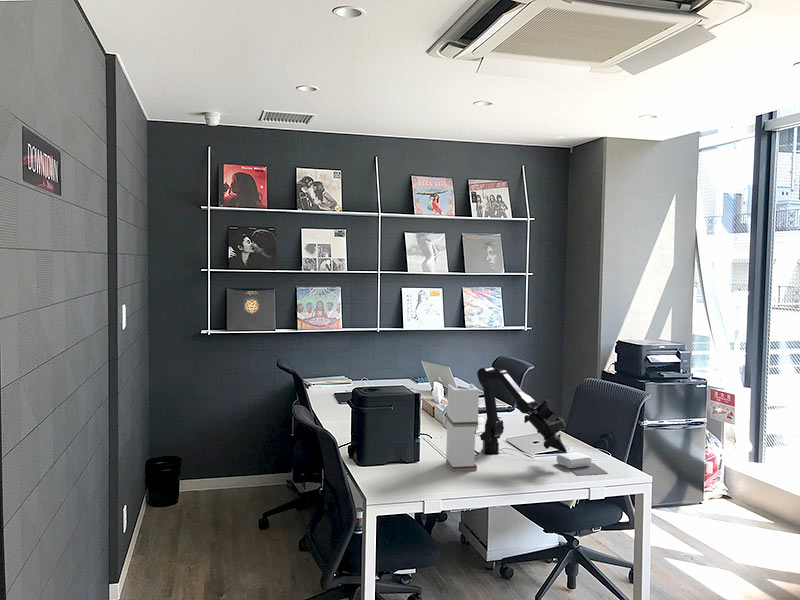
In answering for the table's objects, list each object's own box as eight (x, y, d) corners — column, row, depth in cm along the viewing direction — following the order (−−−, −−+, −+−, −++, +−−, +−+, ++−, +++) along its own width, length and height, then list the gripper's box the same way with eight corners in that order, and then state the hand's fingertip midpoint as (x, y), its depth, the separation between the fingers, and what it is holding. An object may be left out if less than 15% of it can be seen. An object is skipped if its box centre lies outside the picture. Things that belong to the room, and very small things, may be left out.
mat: (577, 475, 282) (577, 474, 282) (563, 465, 295) (563, 464, 295) (607, 473, 285) (608, 473, 285) (593, 463, 297) (593, 463, 297)
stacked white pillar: (476, 470, 286) (478, 389, 283) (452, 471, 284) (454, 390, 281) (469, 461, 297) (471, 383, 294) (446, 462, 295) (447, 384, 292)
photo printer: (556, 453, 297) (578, 450, 302) (556, 463, 297) (578, 459, 302) (571, 459, 287) (594, 456, 292) (570, 469, 288) (594, 466, 293)
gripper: (552, 417, 281) (578, 446, 279) (556, 407, 299) (581, 434, 297) (532, 434, 285) (558, 463, 282) (538, 423, 302) (562, 450, 300)
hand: (565, 452), depth 290 cm, fingers closed
